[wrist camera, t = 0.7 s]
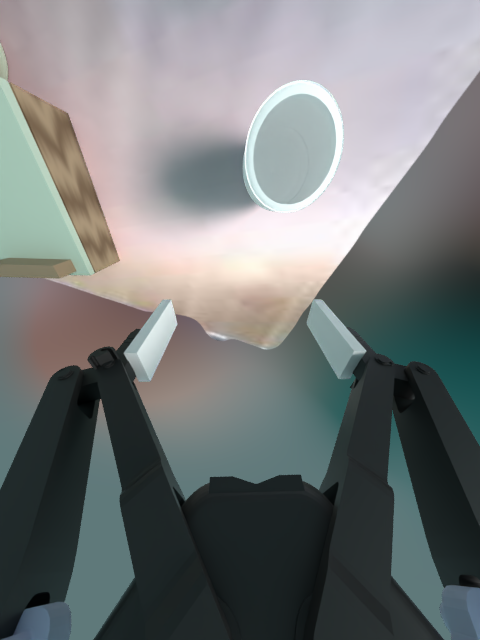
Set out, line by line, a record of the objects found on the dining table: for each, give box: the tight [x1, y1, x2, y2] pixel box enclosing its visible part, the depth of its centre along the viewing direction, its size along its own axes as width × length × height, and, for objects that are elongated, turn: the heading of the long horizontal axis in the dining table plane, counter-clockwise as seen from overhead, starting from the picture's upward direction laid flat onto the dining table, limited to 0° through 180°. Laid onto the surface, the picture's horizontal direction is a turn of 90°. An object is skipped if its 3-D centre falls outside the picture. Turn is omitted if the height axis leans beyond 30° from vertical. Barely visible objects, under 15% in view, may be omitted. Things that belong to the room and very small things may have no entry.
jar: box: [243, 80, 344, 213], centre depth 24 cm, size 11×10×15 cm
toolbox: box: [9, 83, 120, 273], centre depth 29 cm, size 22×14×8 cm, turn 178°
